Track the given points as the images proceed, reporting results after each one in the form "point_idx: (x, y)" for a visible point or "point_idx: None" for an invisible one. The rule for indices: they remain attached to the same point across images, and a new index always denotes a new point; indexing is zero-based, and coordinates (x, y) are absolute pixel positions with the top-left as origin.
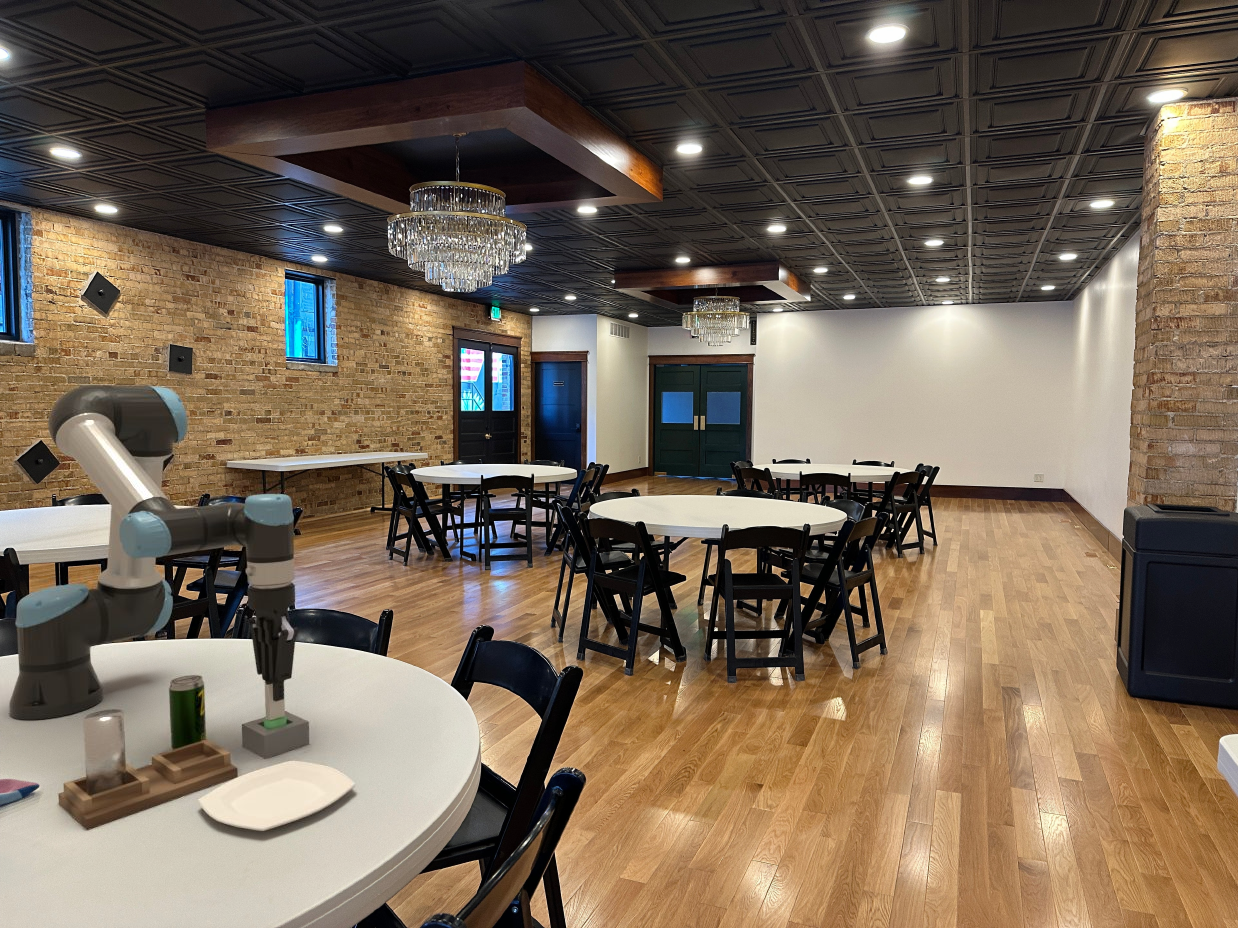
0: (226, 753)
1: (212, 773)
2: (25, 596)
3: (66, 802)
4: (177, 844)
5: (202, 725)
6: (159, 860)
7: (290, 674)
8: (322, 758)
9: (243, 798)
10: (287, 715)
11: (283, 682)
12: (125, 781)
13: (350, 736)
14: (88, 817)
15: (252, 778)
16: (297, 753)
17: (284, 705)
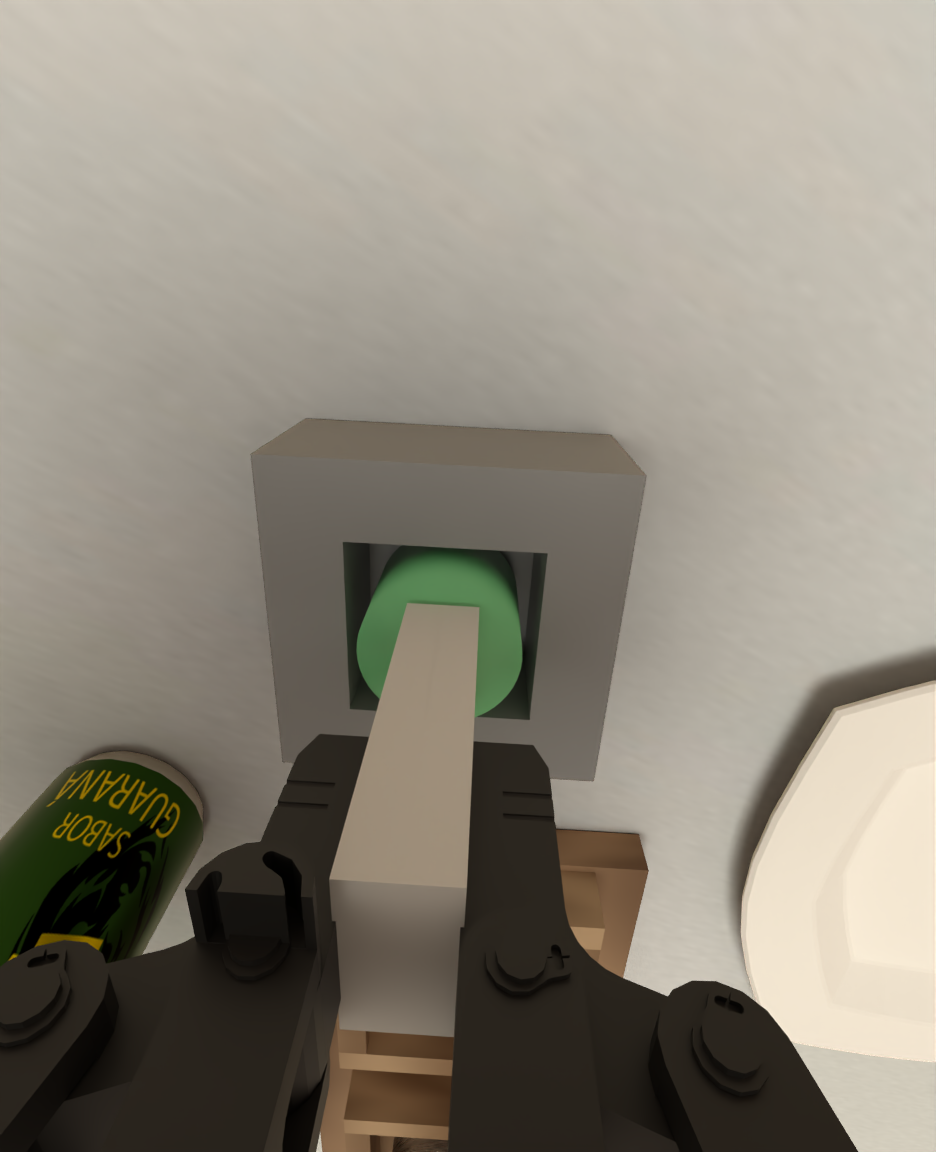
0: (594, 938)
1: (604, 935)
2: None
3: None
4: (891, 1088)
5: (131, 872)
6: (917, 1128)
7: (815, 1110)
8: (870, 514)
9: (865, 922)
10: (371, 504)
11: (571, 931)
12: None
13: (781, 146)
14: None
15: (819, 890)
16: (669, 558)
17: (476, 655)
